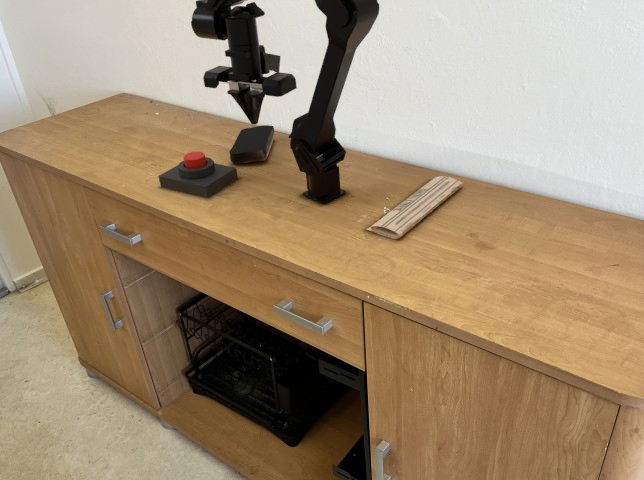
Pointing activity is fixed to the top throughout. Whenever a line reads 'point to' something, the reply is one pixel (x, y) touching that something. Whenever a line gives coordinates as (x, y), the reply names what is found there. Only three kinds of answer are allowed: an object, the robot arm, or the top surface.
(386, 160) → the top surface
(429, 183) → the newspaper
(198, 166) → the power button
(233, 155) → the black sponge
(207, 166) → the grey button base
